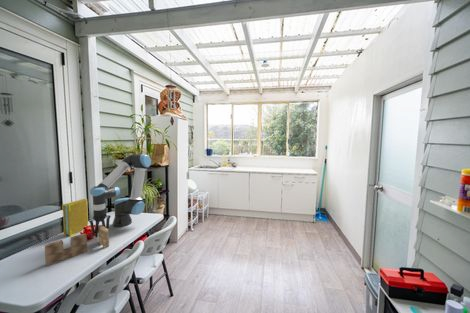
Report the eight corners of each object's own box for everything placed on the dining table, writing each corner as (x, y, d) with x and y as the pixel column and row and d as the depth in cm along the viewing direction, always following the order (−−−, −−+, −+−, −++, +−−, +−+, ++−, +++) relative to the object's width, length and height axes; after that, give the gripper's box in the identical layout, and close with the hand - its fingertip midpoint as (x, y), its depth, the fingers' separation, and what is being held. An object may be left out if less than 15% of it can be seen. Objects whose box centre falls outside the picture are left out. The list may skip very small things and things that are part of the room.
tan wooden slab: (101, 239, 147) (101, 224, 146) (108, 245, 138) (108, 229, 138) (97, 241, 144) (96, 225, 143) (104, 247, 136) (103, 231, 135)
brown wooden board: (85, 250, 133) (85, 233, 133) (87, 251, 132) (86, 234, 131) (45, 264, 118) (44, 244, 117) (46, 266, 116) (45, 246, 115)
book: (70, 236, 152) (69, 205, 151) (63, 235, 154) (62, 204, 152) (90, 227, 169) (89, 199, 167) (84, 226, 170) (83, 198, 169)
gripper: (109, 205, 151) (110, 234, 152) (84, 210, 138) (86, 242, 139) (113, 207, 146) (114, 237, 148) (88, 213, 133) (89, 246, 135)
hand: (100, 239), depth 144 cm, fingers closed on tan wooden slab, 3 cm apart
